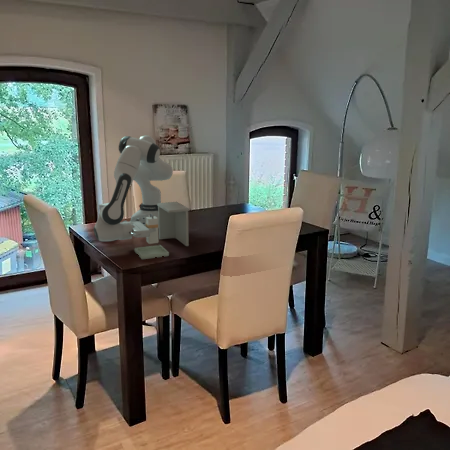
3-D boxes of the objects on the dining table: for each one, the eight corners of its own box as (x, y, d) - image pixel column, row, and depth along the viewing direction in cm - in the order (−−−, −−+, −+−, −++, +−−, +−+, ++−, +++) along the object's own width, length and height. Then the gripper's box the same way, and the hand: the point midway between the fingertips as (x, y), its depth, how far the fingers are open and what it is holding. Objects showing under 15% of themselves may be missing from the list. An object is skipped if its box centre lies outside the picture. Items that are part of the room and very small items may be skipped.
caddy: (149, 243, 251) (148, 216, 247) (146, 241, 255) (145, 214, 252) (158, 242, 253) (157, 215, 249) (155, 240, 257) (155, 213, 254)
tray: (142, 259, 236) (141, 255, 235) (134, 251, 248) (134, 248, 247) (168, 255, 241) (168, 252, 241) (160, 248, 253) (160, 244, 253)
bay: (169, 248, 253) (168, 210, 248) (158, 239, 270) (157, 203, 265) (189, 246, 258) (189, 208, 253) (177, 236, 275) (176, 201, 270)
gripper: (132, 229, 237) (159, 226, 243) (122, 220, 255) (148, 217, 261) (132, 241, 239) (159, 238, 244) (122, 231, 257) (148, 229, 262)
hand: (153, 227), depth 253 cm, fingers closed on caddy, 5 cm apart
